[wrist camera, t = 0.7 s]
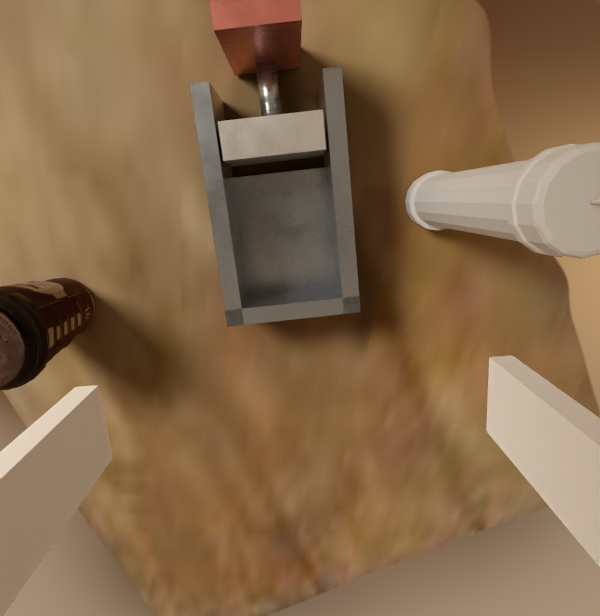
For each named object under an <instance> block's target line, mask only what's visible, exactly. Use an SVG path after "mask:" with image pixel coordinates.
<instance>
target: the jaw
mask: <svg viewBox="0 0 600 616" xmlns="http://www.w3.org/2000/svg"><path fill="white" fill-rule="evenodd" d="M210 7H211V14H212V21H213V28H214V32H215V34H216V36H217V38H218V40H219V42H220V45H221V47H222V49H223V51H224V53H225V55H226V57H227V59H228V62H229V64H230V66H231V68H232V70H233V72H234V74H235V75H243V74H251V73H257V81H258V89H259V98H260V106H261V114H262V116H261V117H252V118H243V119H235V120H226V121H218V128H219V134H220V141H221V148H222V155H223V161H224V162H226V163H228V164H230V165H232V166H241V165H250V164H259V163H268V162H277V161H286V160H294V159H303V158H312V157H321V156H322V155H323V153H324V152H325V150H326V141H325V130H324V119H323V109H322V110H313V111H305V112H296V113H287V114H282V113H281V104H280V95H279V86H278V77H277V70H286V69H295V68H300V49H301V27H302V16H301V6H300V0H210Z"/></svg>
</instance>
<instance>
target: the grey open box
mask: <svg viewBox="0 0 600 616" xmlns="http://www.w3.org/2000/svg"><path fill="white" fill-rule="evenodd" d="M190 89H191V96H192V102H193V109H194V115H195V121H196V128H197V134H198V141H199V147H200V154H201V160H202V166H203V173H204V179H205V186H206V192H207V198H208V205H209V211H210V218H211V224H212V231H213V237H214V243H215V250H216V256H217V263H218V269H219V275H220V282H221V288H222V295H223V301H224V308H225V314H226V320H227V327H229V326H238V325H248V324H257V323H266V322H275V321H284V320H294V319H303V318H312V317H321V316H330V315H340V314H349V313H358V312H361V311H360V298H359V285H358V272H357V259H356V246H355V233H354V220H353V207H352V194H351V181H350V168H349V155H348V142H347V129H346V116H345V103H344V90H343V77H342V66H341V67H332V68H323V69H322V73H321V78H320V82H319V87H318V99H319V110H322V109H323V119H324V130H325V141H326V150H325V152H324V153H323V154H324V166H325V167H324V168H315V169H306V170H298V171H289V172H280V173H271V174H262V175H253V176H244V177H235V178H233V171H232V165H230V164H228V163H226V162H224V161H223V155H222V148H221V141H220V134H219V128H218V121H225V114H224V107H223V101H222V100H221V98H220V97H219V96H218V94H217V93H216V91H215V90H214V89H213V87H212V86H211V84H210V83H209V82H202V83H193V84H190Z"/></svg>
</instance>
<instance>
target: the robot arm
mask: <svg viewBox="0 0 600 616" xmlns="http://www.w3.org/2000/svg"><path fill="white" fill-rule="evenodd" d="M486 431H487V432H488V434H489V435H490V436H491V437H492V438H493V440H494V441H495V442H496V443H497V444H498V446H499V447H500V448H501V449H502V450H503V452H504V453H505V454H506V455H507V456H508V458H509V459H510V460H511V461H512V462H513V464H514V465H515V466H516V467H517V468H518V470H519V471H520V472H521V473H522V474H523V476H524V477H525V478H526V479H527V480H528V482H529V483H530V484H531V485H532V486H533V488H534V489H535V490H536V491H537V493H538V494H539V495H540V496H541V497H542V499H543V500H544V501H545V502H546V503H547V505H548V506H549V507H550V508H551V509H552V510H553V512H554V513H555V514H556V515H557V517H558V518H559V519H560V520H561V521H562V523H563V524H564V525H565V526H566V527H567V529H568V530H569V531H570V532H571V533H572V535H573V536H574V537H575V538H576V539H577V540H578V542H579V543H580V544H581V545H582V547H583V548H584V549H585V550H586V551H587V552H588V554H589V555H590V556H591V557H592V558H593V560H594V561H595V562H596V563H597V565H598V566H599V567H600V418H599V417H597V416H596V415H595V414H593V413H592V412H590V411H589V410H588V409H586V408H585V407H583V406H582V405H581V404H579V403H578V402H576V401H575V400H574V399H572V398H571V397H569V396H568V395H567V394H565V393H564V392H562V391H561V390H560V389H558V388H557V387H555V386H554V385H553V384H551V383H550V382H549V381H547V380H546V379H544V378H543V377H542V376H540V375H539V374H537V373H536V372H535V371H533V370H532V369H530V368H529V367H528V366H526V365H525V364H523V363H522V362H521V361H519V360H518V359H516V358H515V357H514V356H499V357H489V378H488V404H487V430H486ZM112 458H113V457H112V452H111V447H110V442H109V437H108V432H107V427H106V422H105V417H104V412H103V407H102V402H101V397H100V392H99V387H98V385H96V386H82V387H75V388H74V389H73V390H71V391H70V392H69V393H68V394H67V395H66V396H64V397H63V398H62V399H61V400H60V401H59V402H58V403H56V404H55V405H54V406H53V407H52V408H51V409H49V410H48V411H47V412H46V413H45V414H44V415H43V416H41V417H40V418H39V419H38V420H37V421H36V422H34V423H33V424H32V425H31V426H30V427H29V428H27V429H26V430H25V431H24V432H23V433H22V434H21V435H19V436H18V437H17V438H16V439H15V440H14V441H12V442H11V443H10V444H9V445H8V446H7V447H6V448H4V449H3V450H2V451H1V452H0V616H3V615H4V614H5V612H6V611H7V609H8V608H9V606H10V605H11V603H12V602H13V601H14V599H15V598H16V596H17V595H18V593H19V592H20V590H21V589H22V588H23V586H24V585H25V583H26V582H27V580H28V579H29V578H30V576H31V575H32V573H33V572H34V570H35V569H36V568H37V566H38V565H39V563H40V562H41V560H42V559H43V557H44V556H45V555H46V553H47V552H48V550H49V549H50V547H51V546H52V545H53V543H54V542H55V540H56V539H57V537H58V536H59V534H60V533H61V532H62V530H63V529H64V527H65V526H66V524H67V523H68V521H69V520H70V519H71V517H72V516H73V514H74V513H75V511H76V510H77V509H78V507H79V506H80V504H81V503H82V501H83V500H84V499H85V497H86V496H87V494H88V493H89V491H90V490H91V488H92V487H93V486H94V484H95V483H96V481H97V480H98V478H99V477H100V476H101V474H102V473H103V471H104V470H105V468H106V467H107V465H108V464H109V463H110V461H111V460H112Z"/></svg>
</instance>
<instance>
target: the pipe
mask: <svg viewBox="0 0 600 616" xmlns="http://www.w3.org/2000/svg"><path fill="white" fill-rule="evenodd" d="M405 204H406V210H407V213H408V215H409V216H410V218H411V219H412V221H414V222H415V223H417V224H418V225H420V226H422V227H424V228H425V229H431V230H437V231H438V230H442V229H446V228H449V229H454V230H460V231H465V232H471V233H476V234H481V235H487V236H492V237H498V238H503V239H508V240H514V241H519V242H520V243H522V244H523V245H524V246H526V247H527V248H529V249H530V250H532V251H533V252H535V253H540V254H546V255H552V256H557V257H562V256H569V257H575V258H585V257H590V256H594V255H599V254H600V143H598V142H593V143H588V144H583V145H578V144H567V145H563V146H559V147H555V148H551V149H546V150H544V151H543V152H541V153H539V154H538V155H537V156H536V157H534V158H532V159H530V160H524V161H518V162H512V163H506V164H500V165H495V166H489V167H483V168H477V169H471V170H465V171H459V172H453V173H452V172H448V171H442V170H438V171H434V172H430V173H427V174H425V175H423V176H421V177H420V178H418V179H417V180H415V181H414V182H413V183H412V185H411V186H410V188H409V189H408V191H407V195H406V200H405Z"/></svg>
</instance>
